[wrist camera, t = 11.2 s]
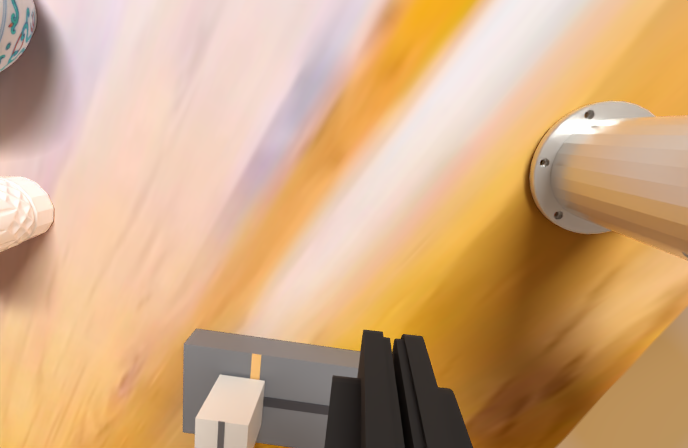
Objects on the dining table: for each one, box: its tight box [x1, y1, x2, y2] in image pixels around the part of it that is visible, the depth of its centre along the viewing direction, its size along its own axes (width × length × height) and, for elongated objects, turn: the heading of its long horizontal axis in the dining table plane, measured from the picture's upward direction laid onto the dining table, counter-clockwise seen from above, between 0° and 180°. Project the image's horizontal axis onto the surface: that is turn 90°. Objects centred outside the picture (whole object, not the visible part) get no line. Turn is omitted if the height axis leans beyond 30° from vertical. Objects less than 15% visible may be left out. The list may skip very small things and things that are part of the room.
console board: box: [183, 329, 360, 448], centre depth 41 cm, size 26×12×3 cm, turn 82°
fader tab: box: [195, 374, 265, 448], centre depth 36 cm, size 5×6×6 cm
